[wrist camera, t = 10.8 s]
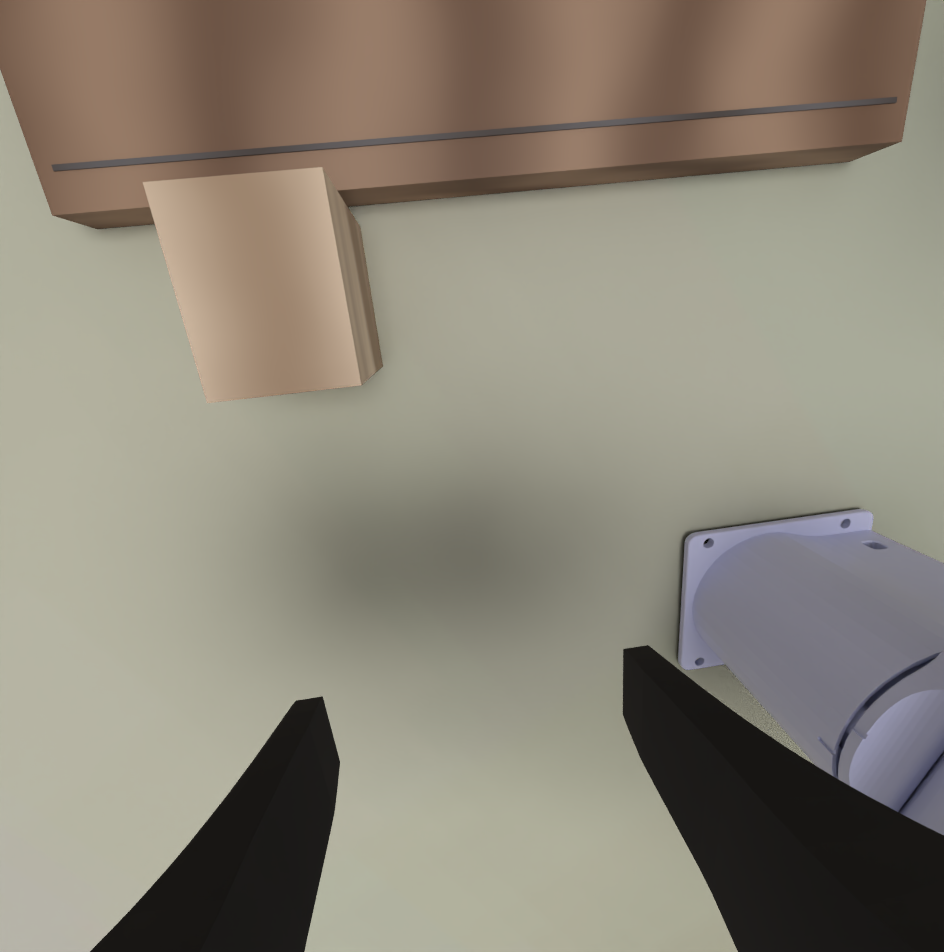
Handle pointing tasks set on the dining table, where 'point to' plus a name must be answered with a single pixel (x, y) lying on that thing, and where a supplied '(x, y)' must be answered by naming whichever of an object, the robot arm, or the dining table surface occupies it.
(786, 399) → the dining table surface
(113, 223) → the board
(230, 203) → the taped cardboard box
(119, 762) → the dining table surface
